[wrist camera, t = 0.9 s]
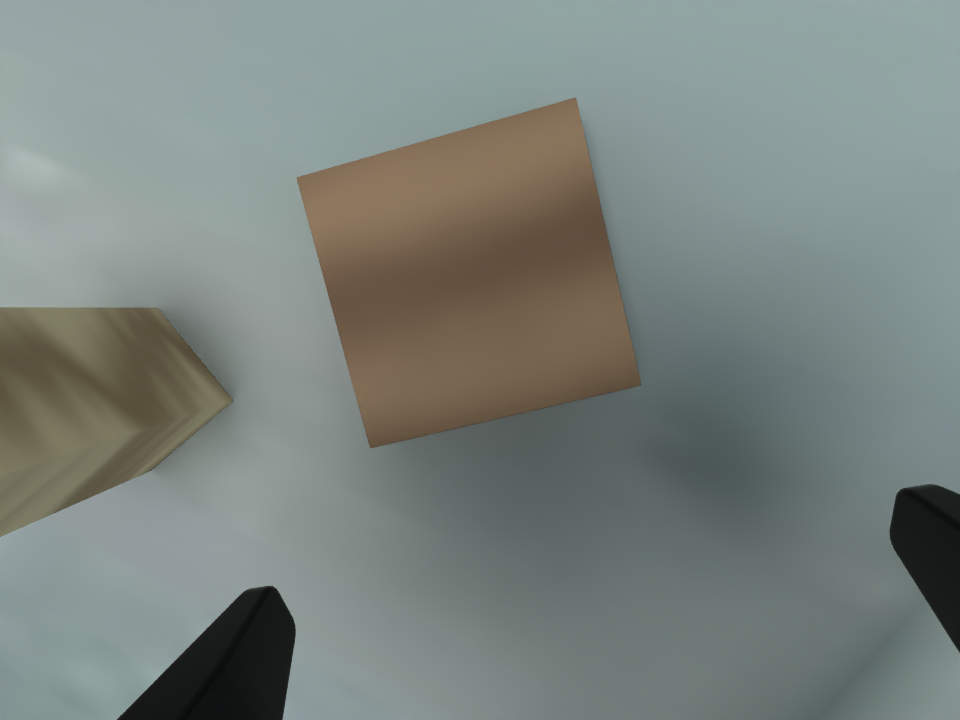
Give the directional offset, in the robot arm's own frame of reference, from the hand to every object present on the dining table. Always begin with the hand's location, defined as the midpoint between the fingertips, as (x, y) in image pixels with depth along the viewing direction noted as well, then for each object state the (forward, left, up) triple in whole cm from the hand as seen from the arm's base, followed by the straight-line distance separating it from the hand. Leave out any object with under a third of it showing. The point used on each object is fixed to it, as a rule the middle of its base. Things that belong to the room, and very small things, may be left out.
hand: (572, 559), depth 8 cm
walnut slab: (+4, +4, -14) cm, 15 cm away
